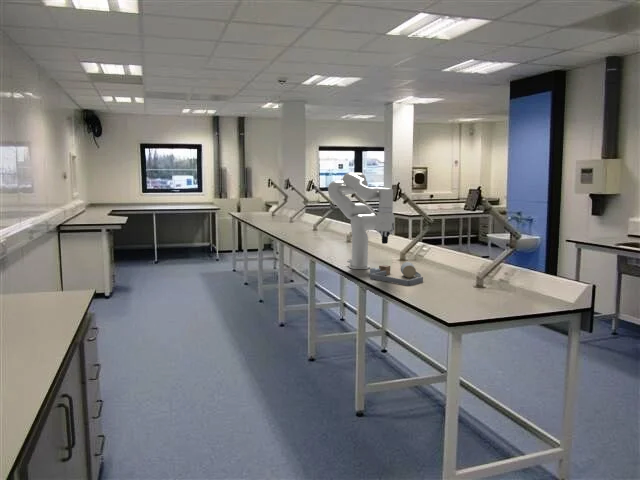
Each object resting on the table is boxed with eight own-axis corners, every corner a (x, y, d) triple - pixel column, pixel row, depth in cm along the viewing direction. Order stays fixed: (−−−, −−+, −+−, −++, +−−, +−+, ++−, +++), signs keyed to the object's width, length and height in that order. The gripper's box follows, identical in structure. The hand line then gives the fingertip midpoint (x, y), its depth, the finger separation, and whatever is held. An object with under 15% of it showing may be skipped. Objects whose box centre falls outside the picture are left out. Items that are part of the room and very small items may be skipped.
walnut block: (378, 273, 288) (379, 265, 288) (383, 272, 292) (383, 264, 291) (385, 274, 285) (385, 266, 285) (390, 273, 289) (390, 265, 288)
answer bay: (369, 278, 274) (369, 273, 273) (384, 275, 284) (384, 270, 283) (408, 285, 257) (408, 280, 257) (422, 281, 267) (423, 277, 267)
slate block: (369, 275, 282) (370, 268, 281) (374, 274, 285) (374, 267, 284) (375, 276, 279) (375, 269, 279) (380, 275, 282) (380, 268, 282)
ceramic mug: (402, 278, 276) (403, 264, 275) (400, 275, 284) (400, 261, 283) (422, 278, 276) (423, 264, 275) (419, 275, 284) (420, 262, 283)
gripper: (370, 210, 286) (369, 242, 288) (393, 211, 276) (392, 245, 278) (378, 209, 291) (377, 241, 293) (400, 211, 281) (399, 244, 284)
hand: (384, 243), depth 286 cm, fingers closed
